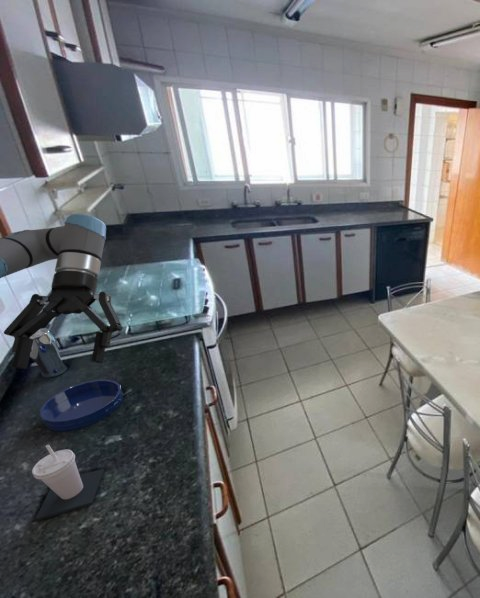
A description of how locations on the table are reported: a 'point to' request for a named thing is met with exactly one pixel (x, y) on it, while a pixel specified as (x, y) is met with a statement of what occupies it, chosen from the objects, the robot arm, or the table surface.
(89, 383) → the bowl
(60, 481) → the smoothie
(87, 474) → the mat
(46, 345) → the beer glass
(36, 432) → the table surface
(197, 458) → the table surface
